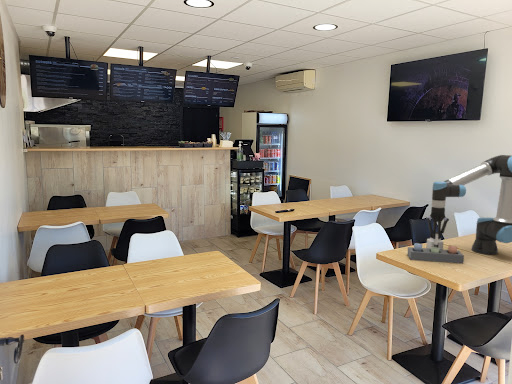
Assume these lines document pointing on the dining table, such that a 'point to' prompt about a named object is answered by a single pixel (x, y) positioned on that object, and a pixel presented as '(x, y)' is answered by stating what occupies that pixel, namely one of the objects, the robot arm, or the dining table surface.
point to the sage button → (435, 249)
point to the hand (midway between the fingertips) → (435, 244)
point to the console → (435, 256)
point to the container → (431, 242)
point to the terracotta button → (452, 249)
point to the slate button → (418, 247)
